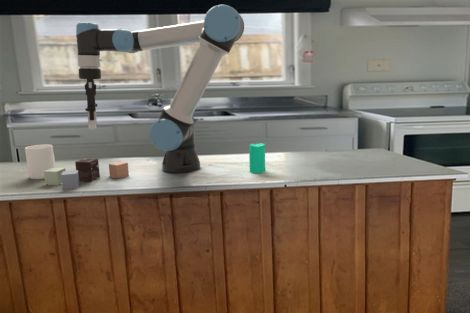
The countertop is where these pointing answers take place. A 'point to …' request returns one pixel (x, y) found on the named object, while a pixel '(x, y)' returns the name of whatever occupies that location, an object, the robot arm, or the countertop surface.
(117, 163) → the cube terracotta
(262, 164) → the candle
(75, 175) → the cube slate
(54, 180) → the cube sage
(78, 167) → the box
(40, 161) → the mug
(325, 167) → the countertop surface
